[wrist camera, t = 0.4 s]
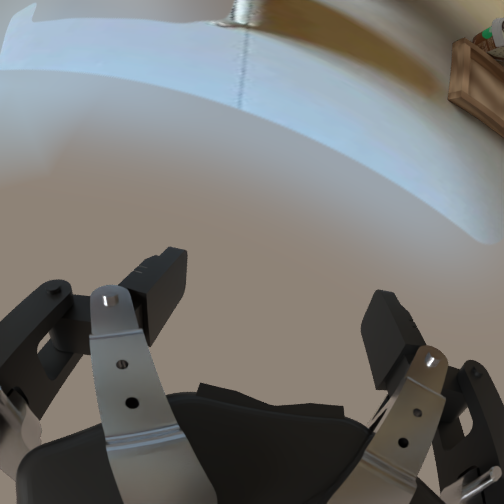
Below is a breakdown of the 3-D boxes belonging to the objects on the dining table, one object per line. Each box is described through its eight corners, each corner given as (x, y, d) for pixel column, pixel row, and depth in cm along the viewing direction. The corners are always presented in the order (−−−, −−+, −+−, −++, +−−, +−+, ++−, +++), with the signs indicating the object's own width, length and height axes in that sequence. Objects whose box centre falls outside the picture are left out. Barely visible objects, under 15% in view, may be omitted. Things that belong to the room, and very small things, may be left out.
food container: (498, 34, 19) (528, 24, 9) (509, 63, 21) (542, 57, 12) (456, 24, 21) (486, 8, 12) (469, 56, 23) (503, 44, 14)
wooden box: (452, 43, 23) (464, 37, 20) (518, 93, 23) (531, 93, 19) (447, 99, 28) (461, 97, 24) (514, 146, 27) (527, 148, 24)
